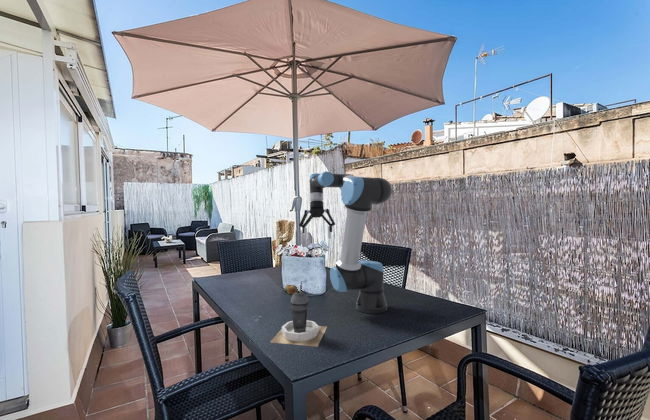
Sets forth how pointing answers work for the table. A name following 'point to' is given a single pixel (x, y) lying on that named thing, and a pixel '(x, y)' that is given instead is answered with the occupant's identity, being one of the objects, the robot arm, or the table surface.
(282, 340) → the cork mat
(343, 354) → the table surface
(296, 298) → the beverage cup
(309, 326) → the bowl
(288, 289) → the bread roll
